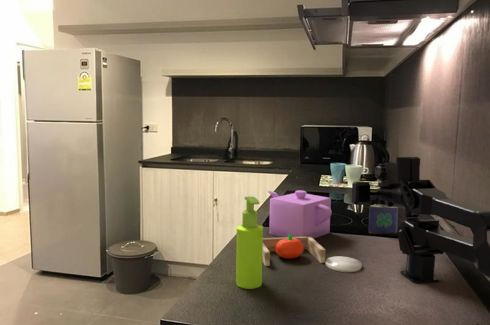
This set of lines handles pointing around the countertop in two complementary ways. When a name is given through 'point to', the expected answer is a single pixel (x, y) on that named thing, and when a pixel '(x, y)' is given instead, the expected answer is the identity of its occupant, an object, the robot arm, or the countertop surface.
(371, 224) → the flask
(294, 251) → the pumpkin
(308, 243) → the wooden frame
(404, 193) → the robot arm
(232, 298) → the countertop surface
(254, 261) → the soap dispenser
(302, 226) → the teapot
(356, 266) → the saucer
